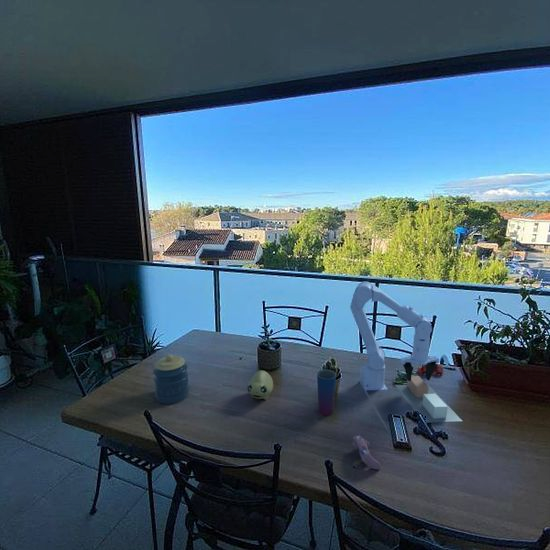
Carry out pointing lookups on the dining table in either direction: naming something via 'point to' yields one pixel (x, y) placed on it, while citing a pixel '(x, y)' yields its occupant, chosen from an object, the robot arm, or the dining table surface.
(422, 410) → the baseplate
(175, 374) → the canister
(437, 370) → the toy fire truck
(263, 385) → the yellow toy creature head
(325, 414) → the cup
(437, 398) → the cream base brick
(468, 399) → the dining table surface
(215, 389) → the dining table surface
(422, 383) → the tan rectangular block
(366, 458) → the pink curved figurine
